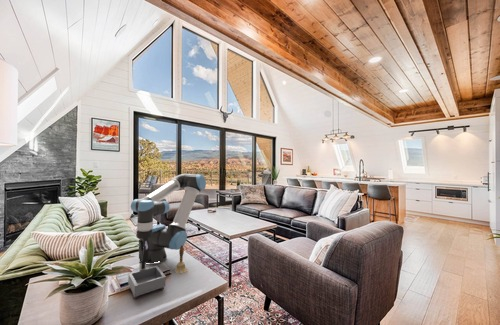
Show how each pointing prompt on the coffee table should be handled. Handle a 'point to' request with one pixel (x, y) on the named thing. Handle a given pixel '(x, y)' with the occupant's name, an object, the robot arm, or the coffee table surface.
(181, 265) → the hand bell
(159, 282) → the grey footed planter box
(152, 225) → the robot arm
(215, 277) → the coffee table surface
